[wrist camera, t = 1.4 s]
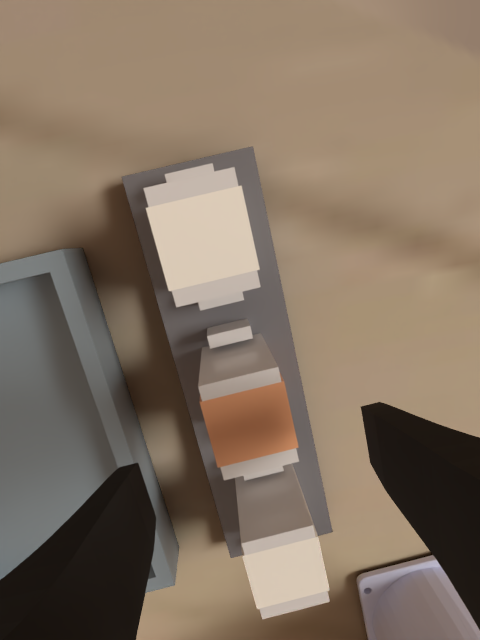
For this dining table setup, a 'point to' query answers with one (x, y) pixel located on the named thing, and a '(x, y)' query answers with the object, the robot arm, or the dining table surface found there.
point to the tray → (63, 409)
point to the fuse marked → (246, 408)
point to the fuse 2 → (280, 544)
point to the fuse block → (231, 333)
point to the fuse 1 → (203, 236)
